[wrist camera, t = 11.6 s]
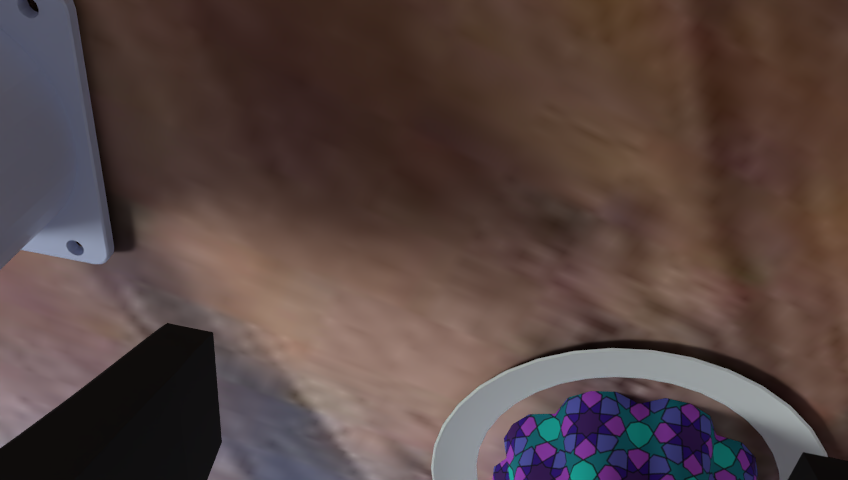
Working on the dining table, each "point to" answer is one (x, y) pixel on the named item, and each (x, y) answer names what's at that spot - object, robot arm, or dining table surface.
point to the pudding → (620, 424)
